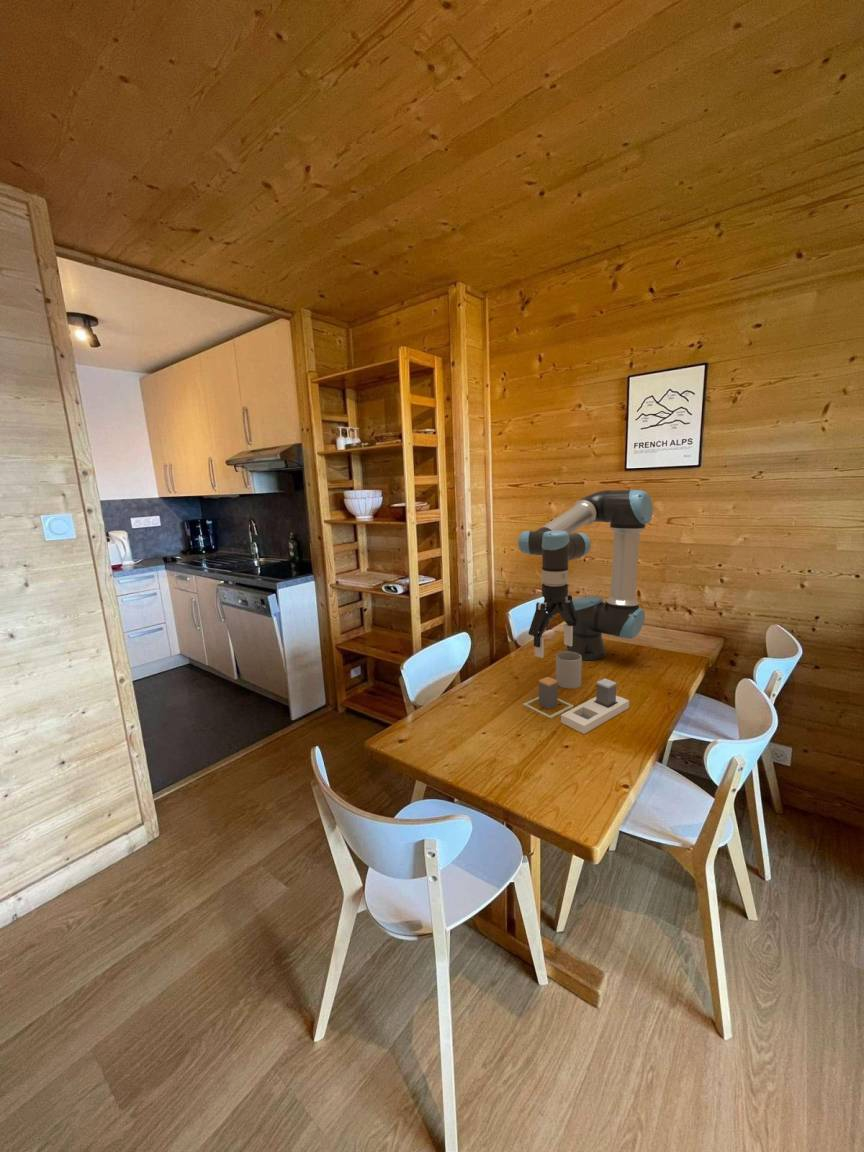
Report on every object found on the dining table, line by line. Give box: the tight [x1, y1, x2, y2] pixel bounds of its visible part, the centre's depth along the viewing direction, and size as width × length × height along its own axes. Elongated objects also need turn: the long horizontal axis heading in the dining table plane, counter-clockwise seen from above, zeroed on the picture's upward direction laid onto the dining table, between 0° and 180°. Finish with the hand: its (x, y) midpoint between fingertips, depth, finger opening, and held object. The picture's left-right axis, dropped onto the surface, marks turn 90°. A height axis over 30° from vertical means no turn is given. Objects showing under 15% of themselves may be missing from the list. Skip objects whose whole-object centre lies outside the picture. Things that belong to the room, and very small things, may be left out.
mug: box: [555, 650, 583, 689], centre depth 159 cm, size 12×8×11 cm
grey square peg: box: [595, 677, 617, 708], centre depth 139 cm, size 4×4×9 cm
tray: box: [522, 696, 574, 719], centre depth 145 cm, size 11×11×1 cm
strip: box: [560, 694, 630, 735], centre depth 137 cm, size 8×22×4 cm, turn 126°
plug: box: [538, 676, 559, 711], centre depth 144 cm, size 4×4×9 cm
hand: (553, 650), depth 141 cm, fingers open, 13 cm apart
